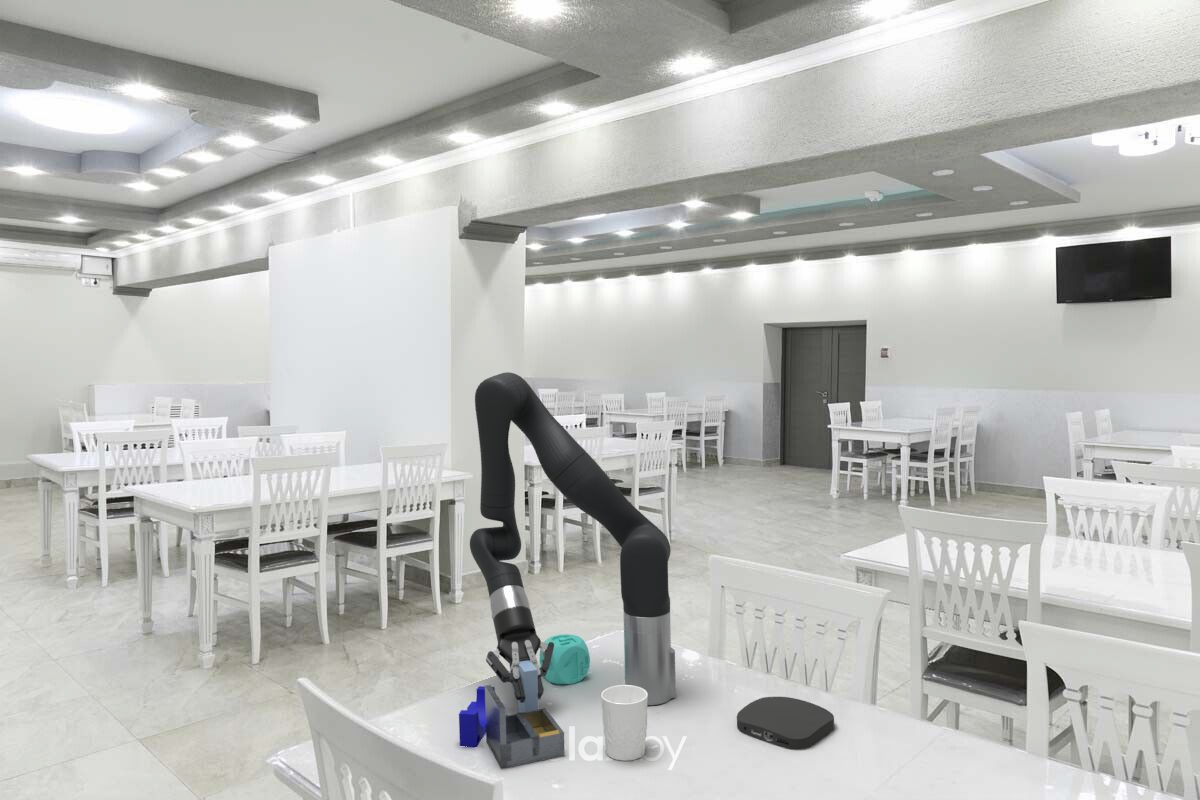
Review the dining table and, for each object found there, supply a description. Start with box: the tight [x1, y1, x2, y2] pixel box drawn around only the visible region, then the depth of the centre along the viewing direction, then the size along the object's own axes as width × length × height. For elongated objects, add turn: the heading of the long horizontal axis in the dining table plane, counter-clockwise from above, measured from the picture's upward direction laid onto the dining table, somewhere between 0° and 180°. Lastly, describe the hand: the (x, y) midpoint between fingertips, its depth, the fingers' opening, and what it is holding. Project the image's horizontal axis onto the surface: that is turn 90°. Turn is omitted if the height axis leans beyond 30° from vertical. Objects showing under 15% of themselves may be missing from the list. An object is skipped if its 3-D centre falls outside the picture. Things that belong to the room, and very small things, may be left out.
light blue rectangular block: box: [517, 660, 539, 713], centre depth 150 cm, size 2×5×10 cm, turn 21°
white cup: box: [600, 684, 648, 762], centre depth 137 cm, size 8×8×10 cm
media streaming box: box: [736, 696, 835, 751], centre depth 145 cm, size 15×15×3 cm
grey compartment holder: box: [484, 684, 566, 770], centre depth 139 cm, size 11×10×10 cm
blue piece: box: [458, 685, 496, 748], centre depth 146 cm, size 12×4×6 cm, turn 172°
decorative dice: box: [539, 633, 591, 685], centre depth 170 cm, size 8×8×8 cm
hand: (531, 699), depth 148 cm, fingers closed on light blue rectangular block, 2 cm apart
